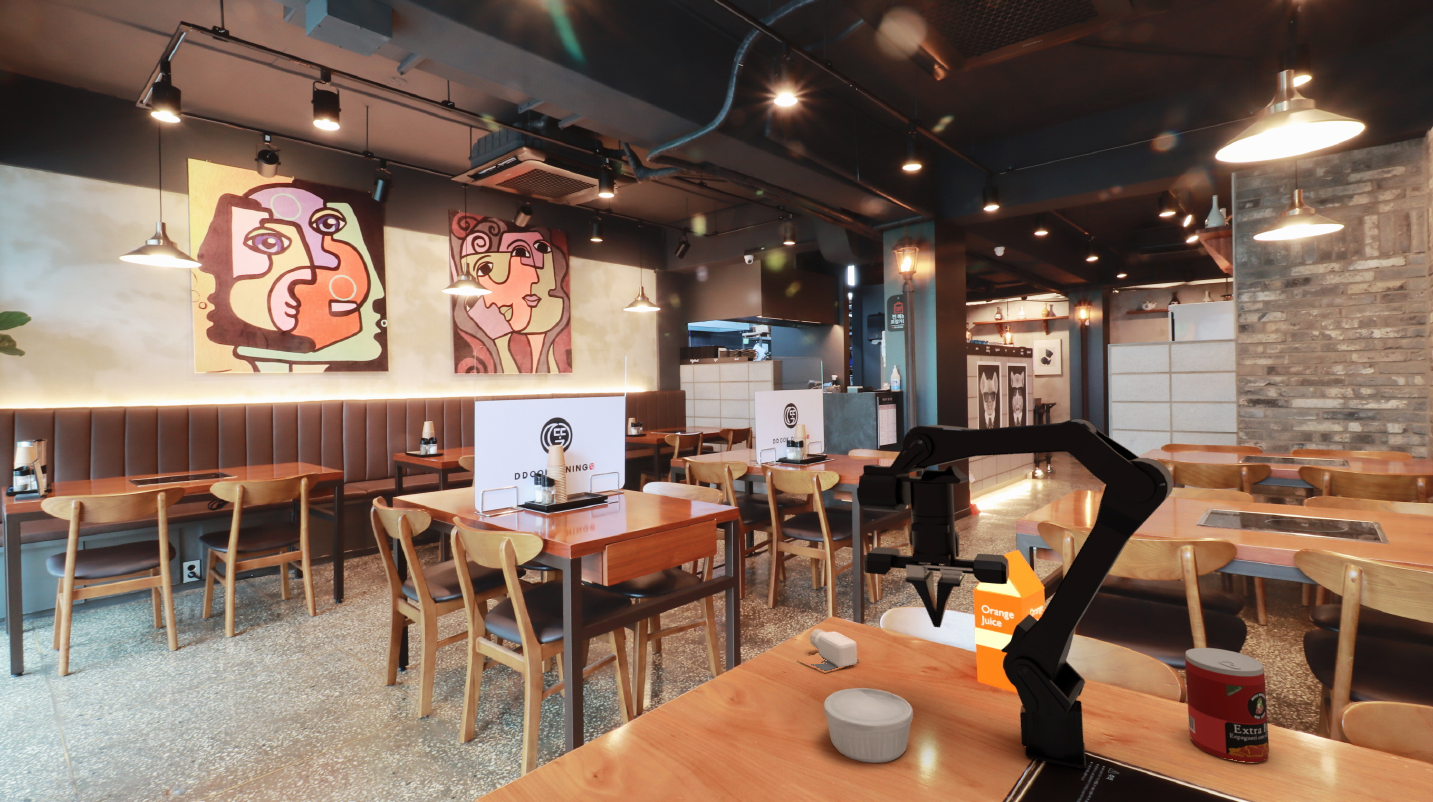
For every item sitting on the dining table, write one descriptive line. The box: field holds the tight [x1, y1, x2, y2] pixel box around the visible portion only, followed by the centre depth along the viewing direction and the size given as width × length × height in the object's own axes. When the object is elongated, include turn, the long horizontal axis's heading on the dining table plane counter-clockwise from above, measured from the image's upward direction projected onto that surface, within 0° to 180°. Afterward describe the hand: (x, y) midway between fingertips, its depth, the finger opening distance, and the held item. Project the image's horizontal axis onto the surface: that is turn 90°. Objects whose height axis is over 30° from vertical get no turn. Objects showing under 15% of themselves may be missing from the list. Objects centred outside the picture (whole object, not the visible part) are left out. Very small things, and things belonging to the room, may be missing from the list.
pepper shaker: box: [809, 628, 858, 668], centre depth 113 cm, size 4×4×10 cm
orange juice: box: [972, 549, 1046, 694], centre depth 102 cm, size 8×9×20 cm
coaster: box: [811, 658, 859, 671], centre depth 112 cm, size 7×8×1 cm
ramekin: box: [823, 687, 914, 764], centre depth 83 cm, size 11×11×5 cm
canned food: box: [1184, 647, 1270, 763], centre depth 80 cm, size 8×8×11 cm
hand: (937, 626), depth 89 cm, fingers closed
